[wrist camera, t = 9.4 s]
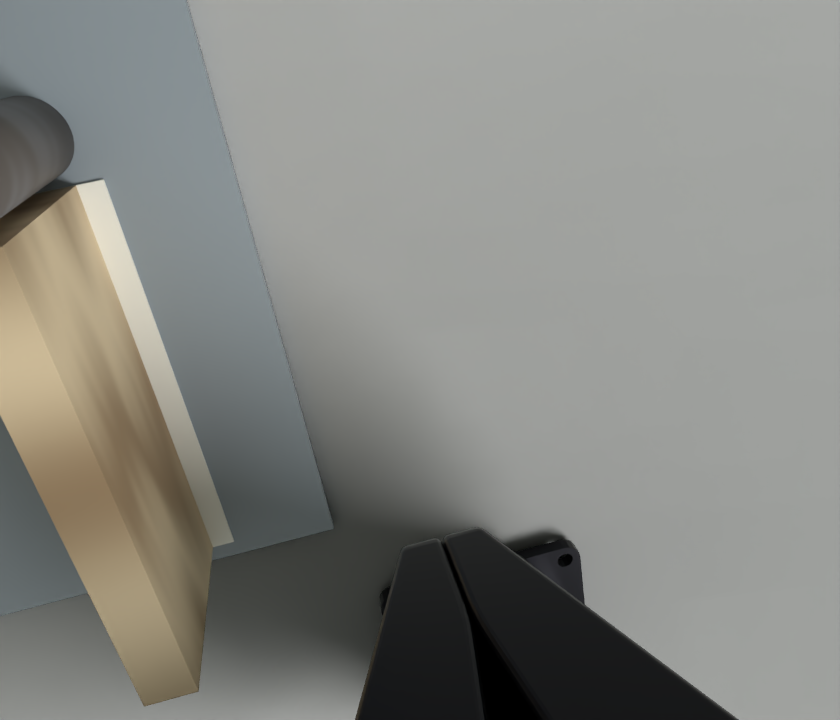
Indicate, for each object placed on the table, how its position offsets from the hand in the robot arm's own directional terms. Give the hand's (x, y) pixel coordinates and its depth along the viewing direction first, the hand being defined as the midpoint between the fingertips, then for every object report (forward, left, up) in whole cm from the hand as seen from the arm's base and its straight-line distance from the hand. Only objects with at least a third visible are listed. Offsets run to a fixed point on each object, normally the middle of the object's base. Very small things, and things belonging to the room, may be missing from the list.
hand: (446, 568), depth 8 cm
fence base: (-1, +6, -12) cm, 13 cm away
